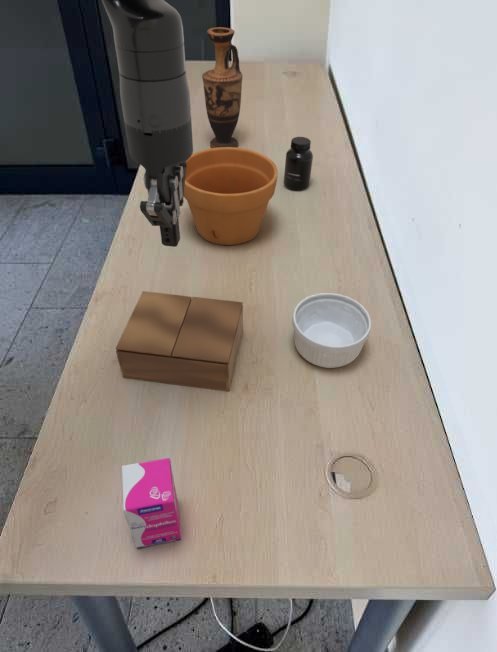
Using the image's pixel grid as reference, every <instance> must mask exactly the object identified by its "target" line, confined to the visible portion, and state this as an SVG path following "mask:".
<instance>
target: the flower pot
mask: <svg viewBox="0 0 497 652" xmlns="http://www.w3.org/2000/svg"><path fill="white" fill-rule="evenodd" d="M186 163H187V167H186V176H185V186H184V197H183V198H184V199H185V201H186V202H187V204H188V207H189V211H190V213H191V216H192V219H193V222H194V225H195V227H196V231H197V232H198V234H199V235H200V236H201V237H202V238H203V239H204V240H206V241H208V242H210V243H212V244H216V245H222V246H235V245H241V244H245V243H247V242H248V241H251V240H252V239H253V238H255V237H257V235H258V233H259V231H260V228H261V225H262V222H263V221H264V216H265V213H266V210H267V208H268V205H269V202H270V200H272V198H273V196H274V195H275V192H276V187H277V181H278V175H279V172H278V171H279V170H278V167H277V165H276V164H275V162H274V161H273V160H272V159H271V158H269V157H268V156H266V155H264V154H262V153H260V152H258V151H255V150H252V149H248V148H243V147H237V148H236V147H220V148H211V147H210V148H206V149H202V150H198V151H196V152H193V153H192V155H191V157H190V158H189V159H188V160H186Z"/></svg>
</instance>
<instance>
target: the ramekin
mask: <svg viewBox="0 0 497 652" xmlns="http://www.w3.org/2000/svg"><path fill="white" fill-rule="evenodd" d="M291 323H292V327H293V340H294V346H295V348H296V350H297V352H298V353H299V354H300V356H302V358H304V359H305V360H306V361H307V362H308V363H310V364H312V365H315V366H317V367H320V368H326V369H334V368H335V369H336V368H340V367H344V366H347V365H349V364H350V363H352V362H353V361H355V359H356V358H358V356H359V355H360V354H361V351H362V349H363V347H364V345H365V342H366V341H367V340H368V339H369V336H370V333H371V329H372V319H371V316H370V314H369V312H368V311H367V309H366V308H365V307H364V306H363V304H361V303H360V302H358V301H357V300H355V299H354V298H351V297H349V296H346V295H345V294H340V293H335V292H334V293H333V292H321V293H320V292H319V293H314V294H313V295H309V296H307V297H304V298H303V299H302V300H300V301H299V302H298V303H297V305H296V306H295V308H294V309H293V313H292V318H291Z"/></svg>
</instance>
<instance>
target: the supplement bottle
mask: <svg viewBox="0 0 497 652" xmlns="http://www.w3.org/2000/svg"><path fill="white" fill-rule="evenodd" d="M311 143H312V142H311V139H309V138H308V137H305V136H294V137H293V138H291V140H290V148H288V150H287V151H286V153H285V163H284V174H283V185H284V187H285V188H287V189H288V190H291V191H296V192H301V191H304V190H306V189H308V188H309V187H310V182H311V175H312V168H313V159H314V154H313V152H312V150H311Z"/></svg>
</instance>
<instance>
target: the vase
mask: <svg viewBox="0 0 497 652" xmlns="http://www.w3.org/2000/svg"><path fill="white" fill-rule="evenodd" d="M206 33H207V35H208V38H209V40H210V41H211V42H212V43H213V45H214V50H215V54H214V55H215V65H214V67H213V69H209V70H206V71H205V72H203V73H202V75H201V76H202V83H203V93H204V102H205V108H206V110H205V111H206V115H207V119H208V123H209V125H210V128H211V130H212V132H213V134H214V137H213V138H212V139H211V140H210V142H209V147H210V149H211V148H220V147H236V148H239V141H238V139H237V138H236V137H233V134H234V133H235V130H236V127H237V125H238V121H239V117H240V113H241V112H240V111H241V103H242V90H243V89H242V86H243V73H242V72H241V69H240V59H239V58H240V57H239V51H238V48H237V47H236V45H234V44H232V43H231V42H232V40H233V38H234V36H235V34H236V33H235V30H234V29H232V28H230V27H223V26H222V27H221V26H220V27H219V26H218V27H210V28H208V29H207V31H206ZM230 53H231V54H232V63H231V67H230Z"/></svg>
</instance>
